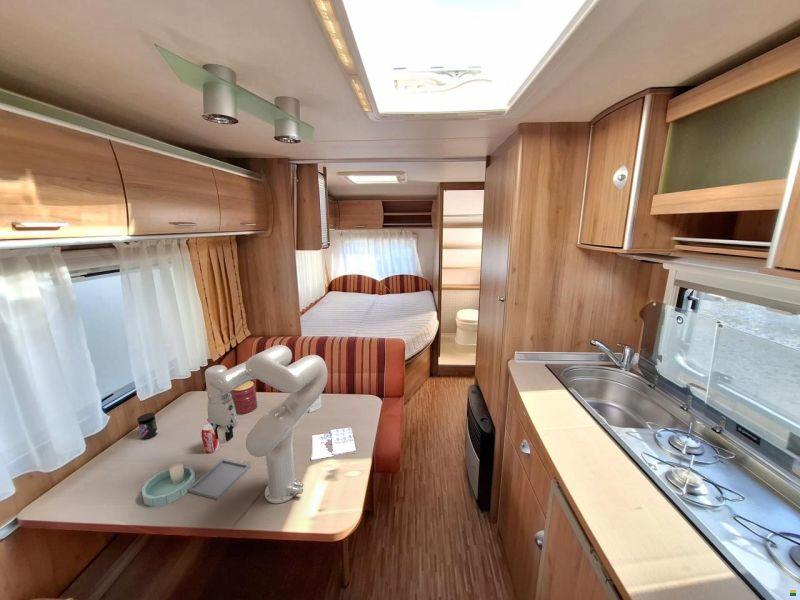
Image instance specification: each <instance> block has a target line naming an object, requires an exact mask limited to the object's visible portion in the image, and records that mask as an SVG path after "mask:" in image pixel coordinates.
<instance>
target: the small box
mask: <svg viewBox="0 0 800 600" xmlns="http://www.w3.org/2000/svg"><path fill="white" fill-rule="evenodd" d="M321 408H322V394H321V395H320V396H319V397H318V399H317V400H316V401H315V402H314V404H313V405H312V406H311V408H310V409H309V410H308V411H307V412H306V413H309V414H312V413H313V412H315V411H317V410H319V409H321Z"/></svg>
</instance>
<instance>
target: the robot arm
mask: <svg viewBox="0 0 800 600" xmlns="http://www.w3.org/2000/svg"><path fill="white" fill-rule="evenodd" d="M292 359H293V353H292V350H291V349H290V347H288V346H286V345H283V344H278V345H273V346H271V347H269V348H267V349H265V350H263V351H261V352H260V351H259V353H256V354H255V355H253V356H251V357H249V358H248V359H247V360H246V361H244V362H242V363H240V364H237V365H235V366H233V367H230V368H229V369H228V368H227V367H226V366H225V365H223V364H217V365H212V366H209V367H208V368H206V369H205V371H204V377H205V384H206V392H207V419H206V421H207V422H208V423H211V425H212V426H213V430H215V438H216V439H218V433H217V427H218V426H220V425H223V426H225V429H226V432H225V437H226V441H229V440H230V439H231V440H232V439H233V438H234V430H233V429H235V428H236V427H237V426H239V423H238V416H237V415H238V414H236V409H235V405H234V402H233V400H232V398H231V394H230V391H232V390H233V389H235V388H237V387H239V386H240V385H242V384H244V383H246V382H248V381H251V380H254V379H255V380H259V381H260V382H262V383H265V384H266V385H268V386H269V387H272V388H275V390H278V391H280V392H283V393H286V394H288V396H286V398H285V399H284V400H283V401H281V402H279V403H278V404H277V405H276V406H274V407H273V408H271V409H270V410H269V411H267V412H265V414H264V415H262V416H261V418H260V419H259V420H258V421H257V422H256V424H254V426H253V428H251V430H250V431H249V432H248V434H247V437H246V439H245V446H246V450H247V452H248V453H249V454H250V455H251V456H253V457H255V458H262V457H265V462H266V474H267V483H268V484H267V486H266V487H265V490H264V497H265V499H266V501H268V503H272V504H282V503H285V502H289V500H291V499H293V498H294V497H295V496H296V495H298V494H299V495H302V493H303V491H304V488H303V487H304V483H301V482H300V481H299V479H298V477H297V476H296V475H295V465H294V463H295V462H294V448H293V447H294V446H293V444H294V443H293V442H294V441H293V439H294V430H295V428H294V427H296V426H297V425H298V423H300V421H301V420H302V419H303V417H304V416H305V415H306V414H307V413H308V412H307V411H308V410H309V409H310V408H311V406H312V405H313V404H314V402H315V401H316V400H317V399H318V397H319V396H320V395H321V396H322V393H323V392H324V389H325V388H326V385H327V382H328V368H327V364H326V361H325V360H324V358H322V357H321V356H319V355H317V354H309V355H306V356H303V357H302V358H299V359H298V360H296V361H294V362H292ZM291 362H292V363H291ZM229 425H230V427H228V426H229ZM231 440H230V441H231ZM230 441H229V442H230Z"/></svg>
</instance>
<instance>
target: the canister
mask: <svg viewBox="0 0 800 600" xmlns="http://www.w3.org/2000/svg"><path fill="white" fill-rule="evenodd" d="M256 388H257V386H256V385H255V383H254V382H253V381H251V380H250V381H248V382H246V383H244V384H242V385H240V386H239V387H237V388H235V389H233V390H232V391H230V396H231V398H232V400H233V402H234V405H235V409H236V414H237V415H244V414H248V413H251V412H252V411H254V410H255V409H257V407H258V400H257V391H256Z"/></svg>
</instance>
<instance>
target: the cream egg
mask: <svg viewBox="0 0 800 600" xmlns="http://www.w3.org/2000/svg"><path fill="white" fill-rule="evenodd" d="M169 468H170V469H169V471H170V477H171V483H172V484H173V485H176V484H179V483H181V482H183V481H184V479H185V475H184V468H183V463H181V462H178V463H175V464H173V465H171V466H170V467H169Z"/></svg>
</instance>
